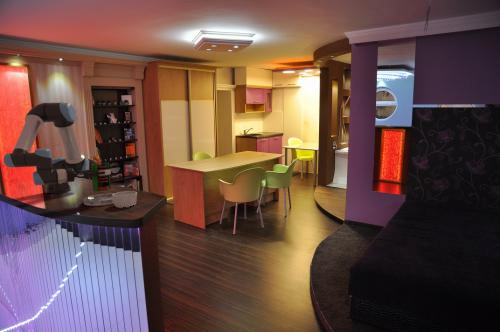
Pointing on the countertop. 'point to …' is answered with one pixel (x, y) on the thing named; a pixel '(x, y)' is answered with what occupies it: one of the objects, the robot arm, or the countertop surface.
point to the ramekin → (124, 199)
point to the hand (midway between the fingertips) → (108, 171)
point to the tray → (98, 200)
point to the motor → (100, 176)
